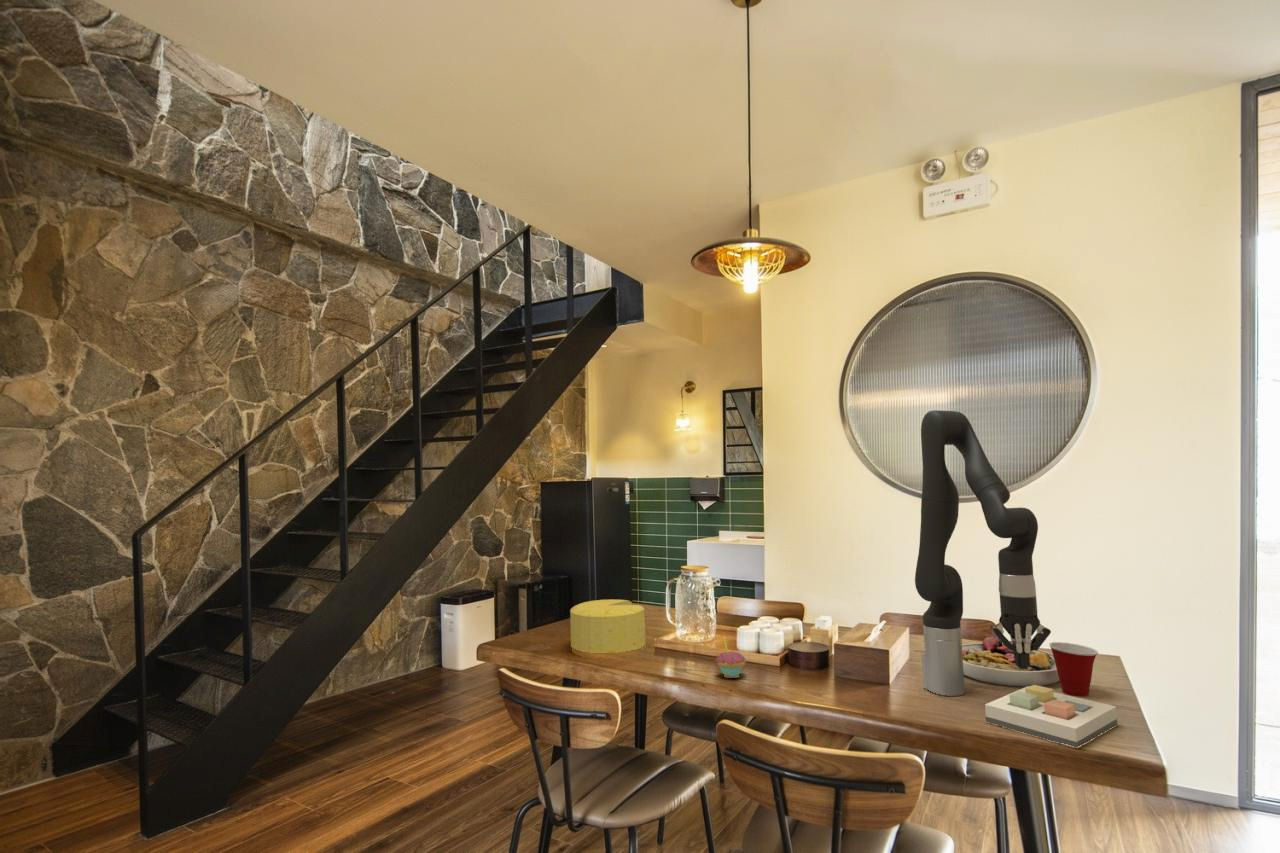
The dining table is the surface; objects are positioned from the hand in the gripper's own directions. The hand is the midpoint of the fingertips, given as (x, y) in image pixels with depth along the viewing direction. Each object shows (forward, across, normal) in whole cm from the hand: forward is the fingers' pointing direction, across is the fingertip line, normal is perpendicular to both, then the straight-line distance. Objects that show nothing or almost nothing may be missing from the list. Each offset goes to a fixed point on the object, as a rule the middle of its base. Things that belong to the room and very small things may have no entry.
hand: (1022, 668), depth 153 cm
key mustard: (+9, +5, +5) cm, 11 cm away
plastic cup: (+13, +21, +23) cm, 34 cm away
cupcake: (+13, -69, +30) cm, 76 cm away
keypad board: (+12, +5, 0) cm, 13 cm away
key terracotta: (+9, +5, -5) cm, 11 cm away
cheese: (+13, -112, +59) cm, 128 cm away
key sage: (+9, 0, 0) cm, 9 cm away
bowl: (+13, +10, +40) cm, 43 cm away
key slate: (+11, +10, 0) cm, 15 cm away
